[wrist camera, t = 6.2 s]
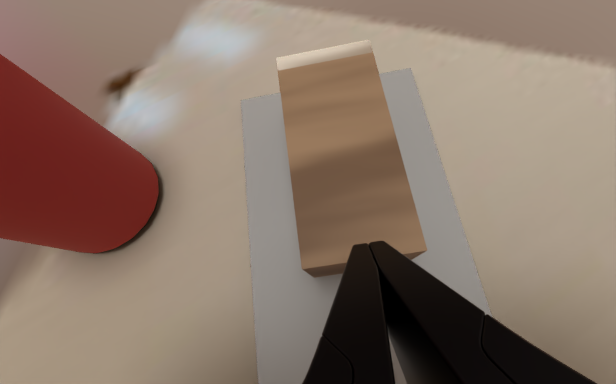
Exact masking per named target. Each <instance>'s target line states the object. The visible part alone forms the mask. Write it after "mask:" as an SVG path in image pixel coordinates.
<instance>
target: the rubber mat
mask: <svg viewBox="0 0 616 384" xmlns="http://www.w3.org/2000/svg"><path fill="white" fill-rule="evenodd" d="M379 76H380V80H381V83H382V87H383V91H384V94H385V98H386V102H387V105H388V109H389V112H390V116H391V120H392V123H393V127H394V131H395V134H396V138H397V141H398V145H399V149H400V152H401V156H402V160H403V163H404V167H405V171H406V174H407V178H408V181H409V185H410V189H411V192H412V196H413V200H414V203H415V207H416V210H417V214H418V218H419V221H420V225H421V229H422V232H423V236H424V240H425V243H426V247H427V251H426V252H424V253H422V254H421V255H419V256H417V257H416V258H414V259H412V261H413V262H415V263H416V264H417V265H419V266H420V267H422V268H423V269H425V270H426V271H427V272H429V273H430V274H432V275H433V276H434V277H436V278H437V279H439V280H440V281H442V282H443V283H444V284H446V285H447V286H449V287H450V288H451V289H453V290H454V291H456V292H457V293H459V294H460V295H461V296H463V297H464V298H466V299H467V300H468V301H470V302H471V303H473V304H474V305H476V306H477V307H478V308H480V309H481V310H483V311H484V312H485V315H486V314H488V315H490V316H491V317H492V315H491V312H490V309H489V306H488V303H487V300H486V297H485V293H484V290H483V287H482V284H481V281H480V278H479V275H478V272H477V269H476V266H475V263H474V260H473V257H472V254H471V251H470V248H469V245H468V242H467V238H466V235H465V232H464V229H463V226H462V223H461V220H460V217H459V214H458V211H457V208H456V205H455V202H454V199H453V196H452V193H451V190H450V187H449V183H448V180H447V177H446V174H445V171H444V168H443V165H442V162H441V159H440V156H439V153H438V150H437V147H436V144H435V141H434V138H433V135H432V132H431V128H430V125H429V122H428V119H427V116H426V113H425V110H424V107H423V104H422V101H421V98H420V95H419V92H418V89H417V86H416V83H415V80H414V76H413V73H412V70H411V68H408V69H402V70H397V71H392V72H387V73H381V74H379ZM241 110H242V127H243V143H244V160H245V176H246V192H247V209H248V225H249V242H250V258H251V274H252V291H253V307H254V323H255V340H256V356H257V373H258V384H302V383H303V380H304V378H305V376H306V374H307V372H308V369H309V367H310V364H311V362H312V359H313V356H314V354H315V351H316V348H317V346H318V343H319V340H320V337H322V332H323V329H324V326H325V323H326V320H327V318H328V315H329V312H330V309H331V306H332V303H333V300H334V298H335V295H336V292H337V289H338V286H339V283H340V280H341V278H342V275H343V274H336V275H329V276H322V277H315V278H314V277H312V276H311V275H309V274H308V273H307V272H305V271H304V270H302V267H301V259H300V250H299V242H298V234H297V226H296V217H295V209H294V201H293V193H292V184H291V176H290V168H289V159H288V151H287V143H286V135H285V126H284V118H283V110H282V101H281V93H276V94H271V95H266V96H260V97H255V98H250V99H245V100H241ZM388 336H389V335H388ZM389 342H390V349H391V356H392V363H393V370H394V377H395V384H407V382H406V380H405V377H404V374H403V372H402V369H401V366H400V364H399V361H398V359H397V356H396V353H395V351H394V348H393V346H392V343H391V340H390V338H389Z"/></svg>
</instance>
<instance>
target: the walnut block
mask: <svg viewBox="0 0 616 384" xmlns="http://www.w3.org/2000/svg"><path fill="white" fill-rule="evenodd" d="M276 60H277V68H278V77H279V85H280V93H281V101H282V110H283V118H284V126H285V135H286V143H287V151H288V159H289V168H290V176H291V184H292V193H293V201H294V209H295V217H296V226H297V234H298V242H299V250H300V259H301V267H302V270H304V271H305V272H307V273H308V274H309V275H311V276H312V277H314V278H315V277H322V276H329V275H336V274H343V272H344V269H345V266H346V263H347V260H348V258H349V255H350V252H351V249H352V246H353V245H355V244H362V243H367V244H369V243H370V242H375V241H381V240H382V241H385V242H386V243H388V244H389V245H391V246H392V247H393V248H395V249H396V250H398V251H399V252H400V253H402V254H403V255H405V256H406V257H408V258H409V259H410V260H412V259H414V258H416V257H417V256H419V255H421V254H422V253H424V252H426V251H427V247H426V243H425V240H424V236H423V232H422V229H421V225H420V221H419V218H418V214H417V210H416V207H415V203H414V200H413V196H412V192H411V189H410V185H409V181H408V178H407V174H406V171H405V167H404V163H403V160H402V156H401V152H400V149H399V145H398V141H397V138H396V134H395V131H394V127H393V123H392V120H391V116H390V112H389V109H388V105H387V102H386V98H385V94H384V91H383V87H382V83H381V80H380V76H379V72H378V69H377V65H376V62H375V58H374V54H373V51H372V47H371V43H370V40H364V41H359V42H354V43H349V44H344V45H339V46H333V47H328V48H323V49H318V50H313V51H308V52H303V53H298V54H293V55H288V56H283V57H278V58H276Z"/></svg>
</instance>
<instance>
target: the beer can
mask: <svg viewBox="0 0 616 384" xmlns="http://www.w3.org/2000/svg"><path fill="white" fill-rule="evenodd" d="M158 194H159V189H158V177H157V175H156V172H155V170H154V168H153V166H152V163H151V162H149V161H148V160H147V159H146V158H145V157H144V156H143V155H142V154H141V153H139V152H138V151H136V150H135V149H133V148H132V147H131V146H129V145H128V144H126V143H125V142H124V141H122V140H121V139H119V138H118V137H117V136H115V135H114V134H112V133H111V132H110V131H108V130H107V129H105V128H104V127H102V126H101V125H100V124H98V123H97V122H95V121H94V120H92V119H91V118H90V117H88V116H87V115H86V114H84V113H83V112H81V111H80V110H79V109H77V108H76V107H74V106H73V105H71V104H70V103H69V102H67V101H66V100H64V99H63V98H62V97H60V96H59V95H57V94H56V93H55V92H53V91H52V90H50V89H49V88H48V87H46V86H45V85H43V84H42V83H40V82H39V81H38V80H36V79H35V78H33V77H32V76H31V75H29V74H28V73H26V72H25V71H24V70H22V69H21V68H19V67H18V66H17V65H15V64H14V63H12V62H11V61H9V60H8V59H7V58H5V57H4V56H2V55H1V54H0V238H3V239H9V240H14V241H20V242H25V243H31V244H37V245H42V246H48V247H54V248H59V249H65V250H71V251H76V252H84V253H100V252H103V251H107V250H111V249H114V248H117V247H119V246H120V245H122V244H123V243H125V242H127V241H128V240H130V239H132V238H133V237H134V236H135V235H136V234H137V233H138V232H139V231H140V230H141V229H142V228H143V227H144V226H145V225H146V223H147V221H148V219H149V218H150V216H151V214H152V213H153V211H154V209H155V205H156V201H157V198H158Z"/></svg>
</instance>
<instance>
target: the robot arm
mask: <svg viewBox="0 0 616 384" xmlns="http://www.w3.org/2000/svg"><path fill="white" fill-rule="evenodd" d="M388 335H389V336H388ZM389 338H390V340H391V343H392V346H393V348H394V351H395V353H396V356H397V359H398V361H399V364H400V366H401V369H402V372H403V374H404V377H405V380H406V382H407V384H597V383H595V382H593V381H592V380H590V379H588V378H587V377H585V376H583V375H582V374H580V373H578V372H577V371H575V370H573V369H572V368H570V367H568V366H567V365H565V364H563V363H562V362H560V361H558V360H557V359H555V358H554V357H552V356H550V355H549V354H547V353H546V352H544V351H542V350H541V349H539V348H537V347H536V346H534V345H533V344H531V343H529V342H528V341H526V340H525V339H524V338H522V337H521V336H519V335H518V334H516V333H515V332H513V331H512V330H510V329H509V328H507V327H506V326H504V325H503V324H501V323H500V322H499V321H497V320H496V319H494V318H493V317H491V316H490V315H488V314H486V315H485V312H484V311H483V310H481V309H480V308H478V307H477V306H476V305H474V304H473V303H471V302H470V301H468V300H467V299H466V298H464V297H463V296H461V295H460V294H459V293H457V292H456V291H454V290H453V289H451V288H450V287H449V286H447V285H446V284H444V283H443V282H442V281H440V280H439V279H437V278H436V277H434V276H433V275H432V274H430V273H429V272H427V271H426V270H425V269H423V268H422V267H420V266H419V265H417V264H416V263H415V262H413V261H412V260H410V259H409V258H408V257H406V256H405V255H403V254H402V253H400V252H399V251H398V250H396V249H395V248H393V247H392V246H391V245H389V244H388V243H386V242H385V241H382V240H381V241H375V242H370V243H369V244H367V243H362V244H355V245H353V246H352V249H351V252H350V255H349V258H348V260H347V263H346V266H345V269H344V272H343V275H342V278H341V280H340V283H339V286H338V289H337V292H336V295H335V298H334V300H333V303H332V306H331V309H330V312H329V315H328V318H327V320H326V323H325V326H324V329H323V332H322V337H320V340H319V343H318V346H317V348H316V351H315V354H314V356H313V359H312V362H311V364H310V367H309V369H308V372H307V374H306V376H305V378H304V380H303V383H302V384H395V377H394V370H393V363H392V356H391V349H390V342H389Z"/></svg>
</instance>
